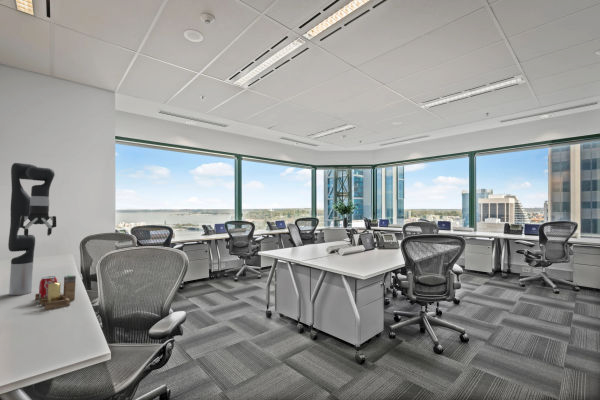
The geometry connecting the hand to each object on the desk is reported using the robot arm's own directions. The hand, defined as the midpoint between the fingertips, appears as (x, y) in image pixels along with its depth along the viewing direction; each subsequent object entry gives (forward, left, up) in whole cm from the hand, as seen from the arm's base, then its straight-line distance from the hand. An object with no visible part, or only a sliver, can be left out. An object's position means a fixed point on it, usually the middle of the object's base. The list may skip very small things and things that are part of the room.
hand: (37, 235), depth 150 cm
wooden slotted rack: (+8, +8, -34) cm, 36 cm away
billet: (+16, +5, -34) cm, 38 cm away
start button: (+10, +12, -24) cm, 28 cm away
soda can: (+2, +5, -34) cm, 35 cm away
